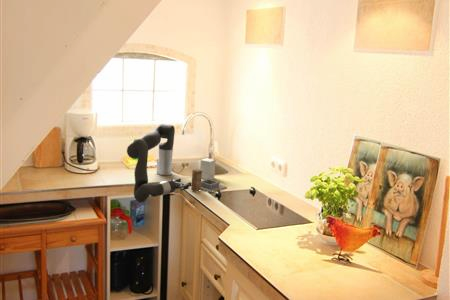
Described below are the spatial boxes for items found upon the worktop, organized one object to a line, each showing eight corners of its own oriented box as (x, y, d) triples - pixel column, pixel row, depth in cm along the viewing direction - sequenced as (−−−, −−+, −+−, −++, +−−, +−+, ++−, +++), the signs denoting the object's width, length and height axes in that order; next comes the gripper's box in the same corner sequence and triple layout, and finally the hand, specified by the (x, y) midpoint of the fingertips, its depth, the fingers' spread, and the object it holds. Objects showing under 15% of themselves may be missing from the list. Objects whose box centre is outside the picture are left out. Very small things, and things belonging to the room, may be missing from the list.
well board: (190, 186, 292) (191, 181, 292) (207, 181, 305) (208, 176, 304) (210, 192, 283) (210, 187, 282) (226, 188, 295) (227, 182, 294)
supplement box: (214, 178, 314) (216, 159, 311) (208, 180, 308) (210, 161, 305) (205, 175, 318) (206, 157, 315) (199, 178, 311) (200, 159, 309)
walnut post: (191, 190, 284) (192, 169, 281) (195, 189, 287) (197, 168, 284) (196, 192, 282) (197, 171, 279) (200, 191, 285) (201, 170, 282)
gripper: (156, 190, 268) (176, 185, 280) (174, 197, 259) (194, 191, 272) (157, 177, 266) (177, 173, 279) (174, 184, 258) (194, 178, 270)
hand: (185, 182), depth 275 cm, fingers open, 8 cm apart
